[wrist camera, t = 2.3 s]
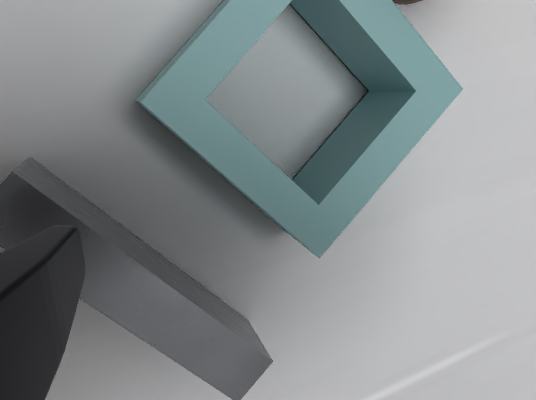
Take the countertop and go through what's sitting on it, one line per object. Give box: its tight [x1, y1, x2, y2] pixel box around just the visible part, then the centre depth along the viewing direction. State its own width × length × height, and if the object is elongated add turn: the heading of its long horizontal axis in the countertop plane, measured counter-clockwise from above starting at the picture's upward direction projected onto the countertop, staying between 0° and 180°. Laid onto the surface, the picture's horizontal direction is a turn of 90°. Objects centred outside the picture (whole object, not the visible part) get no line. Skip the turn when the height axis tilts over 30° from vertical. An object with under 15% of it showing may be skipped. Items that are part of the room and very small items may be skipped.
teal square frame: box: [135, 0, 463, 258], centre depth 18 cm, size 8×8×4 cm
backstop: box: [0, 157, 273, 400], centre depth 18 cm, size 2×11×4 cm, turn 47°
